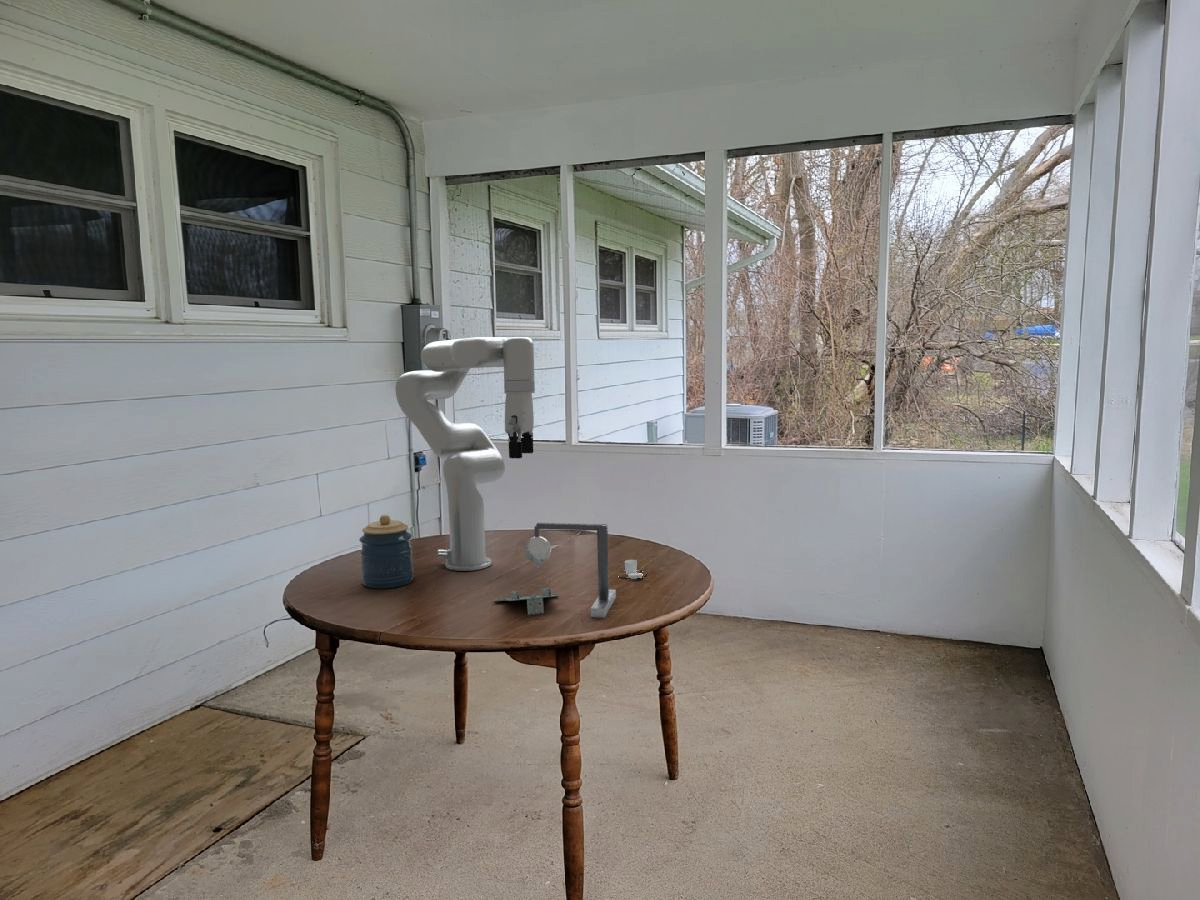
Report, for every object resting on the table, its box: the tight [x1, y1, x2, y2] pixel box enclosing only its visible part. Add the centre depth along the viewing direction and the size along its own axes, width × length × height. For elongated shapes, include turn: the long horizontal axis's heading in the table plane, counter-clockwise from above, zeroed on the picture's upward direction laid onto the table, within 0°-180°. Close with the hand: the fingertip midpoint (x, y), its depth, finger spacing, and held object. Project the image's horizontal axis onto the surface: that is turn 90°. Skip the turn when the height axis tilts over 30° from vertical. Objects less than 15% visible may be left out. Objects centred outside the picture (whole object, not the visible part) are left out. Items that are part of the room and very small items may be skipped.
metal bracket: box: [494, 587, 560, 616], centre depth 180 cm, size 14×6×15 cm
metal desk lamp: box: [523, 522, 617, 619], centre depth 178 cm, size 20×14×19 cm
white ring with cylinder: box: [617, 559, 643, 580], centre depth 203 cm, size 9×8×4 cm
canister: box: [358, 514, 415, 589], centre depth 200 cm, size 13×13×18 cm
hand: (521, 455), depth 196 cm, fingers open, 9 cm apart
